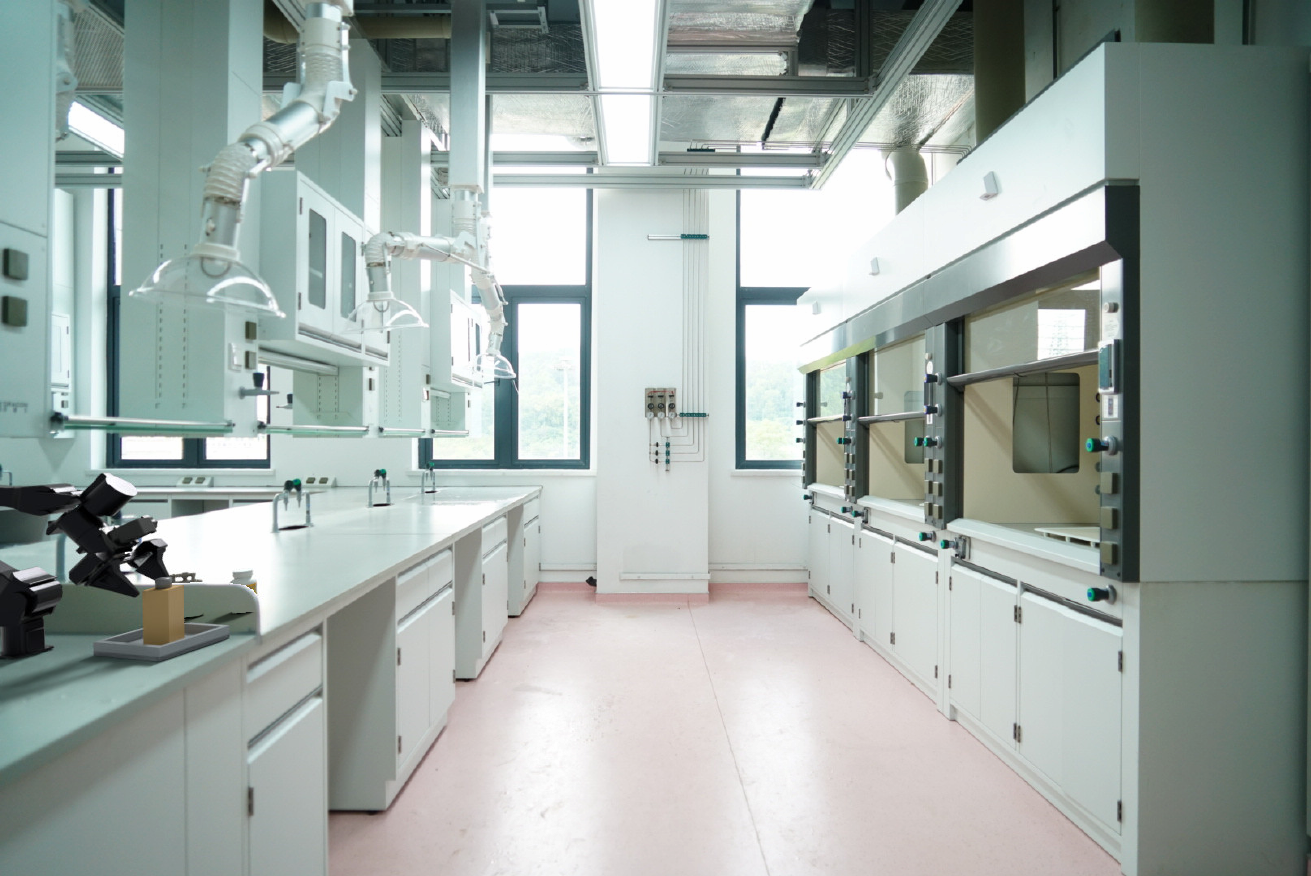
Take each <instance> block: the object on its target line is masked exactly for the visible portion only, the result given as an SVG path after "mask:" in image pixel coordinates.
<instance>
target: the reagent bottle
mask: <svg viewBox="0 0 1311 876" xmlns="http://www.w3.org/2000/svg"><path fill="white" fill-rule="evenodd" d="M141 592H142V628H143V644H148V645H159V646H161V645H164V644H167V643H171V642H174V641H177V640H180V639H183V638H185V630H184V622H185V619H184V585H172V577H163V578H157V579H155V581H154V586H153V587H150V588H147V589H144V590H142V591H141Z"/></svg>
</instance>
